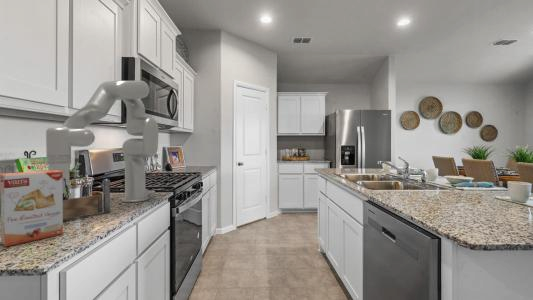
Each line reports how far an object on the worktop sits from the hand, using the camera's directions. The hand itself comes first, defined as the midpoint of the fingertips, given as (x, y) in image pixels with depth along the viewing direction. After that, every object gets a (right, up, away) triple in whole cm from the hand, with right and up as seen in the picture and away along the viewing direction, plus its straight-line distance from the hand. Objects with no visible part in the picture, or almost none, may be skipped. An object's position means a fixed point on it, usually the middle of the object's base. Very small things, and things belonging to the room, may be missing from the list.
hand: (59, 207), depth 103 cm
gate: (+4, -4, +1) cm, 6 cm away
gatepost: (+12, -4, +11) cm, 16 cm away
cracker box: (+7, -6, -19) cm, 21 cm away
